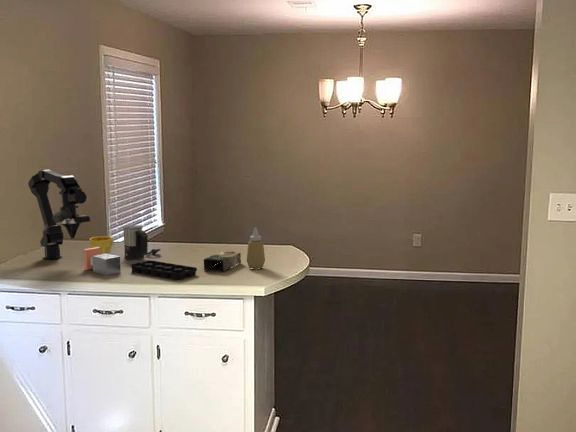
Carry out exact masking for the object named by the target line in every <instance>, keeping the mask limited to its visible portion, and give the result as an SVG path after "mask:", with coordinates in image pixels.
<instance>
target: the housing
mask: <svg viewBox="0 0 576 432" xmlns="http://www.w3.org/2000/svg"><path fill="white" fill-rule="evenodd" d="M92 259H93V269H92V272H93V273H95V274H99V275H103V276H112V275H115V274H120V273H122V272H121V271H122V269H121V256H119V255H114V254H111V253H110V254H107V253H106V254H101V255H95V256H92Z"/></svg>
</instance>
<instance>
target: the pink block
mask: <svg viewBox="0 0 576 432" xmlns="http://www.w3.org/2000/svg"><path fill="white" fill-rule="evenodd" d="M95 255H101V253H100V247H95V248H92V247H91V248H84V249H83V260H84V261H83V264H84V266H83V267H84V270H86V271H87V270H93V259H92V256H95Z"/></svg>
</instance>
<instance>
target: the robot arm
mask: <svg viewBox="0 0 576 432" xmlns="http://www.w3.org/2000/svg"><path fill="white" fill-rule="evenodd" d="M51 183H53V184H56V187H57V188H58V189H60V191H59V193H58V195H60V196H61V204H62V206H60V208H59V210H58V211H57V212H55V213H53V210H52V206H51V203H50V200H49V196H48V193H49V189H50V184H51ZM28 188H29V190H30V192H31V194H32V195H34V196H35V198H36V200H37V203H38V207H39V210H40V214H41V218H42V221H43V224H44V227H43V231H42V235H43V236H42V237H41V239H40V240H39V244H40V247H44V256H43V257H42V259H45V260H58V259H62V258H63V256H62V255H61V249H60V245H63V242H64V237H65V235H64V231H63V229H62V226H63V227H64V228H65V229H66V230H67V232H68V235H69V237H70V239H73V240H74V239H75V236H76V234H77V232H78V228H79V227H80V225H81V224H83V223H88V222H91V217H90V216H89V215H88V214H87V215H86V214H85V215H80V214H78V211H77V209H79V205H82V204H84V203H86V201H87V195H86V193H85V192H84V191H83V189H82V187H81V186H80V184H79V182H78V181H77V178H76V177H75V176H74V175H70V174H69V175H68V174H66V175H65V174H64V175H63V174H60V173H57V172H55V171H53V170H51V169H49V168H47V169H40V170H39V171H38V172H37V173H35V174H34V175H32V176H31V178H30V179H29V180H28ZM58 223H60V224H58Z"/></svg>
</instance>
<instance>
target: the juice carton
mask: <svg viewBox="0 0 576 432" xmlns="http://www.w3.org/2000/svg"><path fill="white" fill-rule="evenodd" d="M241 253H242V252H238V251H236V252H235V251H234V250H233V251H221V252H218V253H214V254H213V255H210V256H209V257H205V258H204V259H203V271H204V270H206V269H208V268H210V267H212V266H214V265H215V264H217V263H220V262H221V264H220V266H219V268H218V271H219V272H220V271H222V272H221V273H224V272H226V271H228V270H227V269H229V270H231V269H230V268H231V267H233V266H235V265H236V264H238V263H241V264H242V260H241V257H242V254H241ZM214 267H215V266H214ZM235 267H236V266H235ZM212 268H213V267H212ZM233 268H234V267H233ZM210 269H211V268H210ZM208 270H209V269H208ZM206 271H207V270H206Z"/></svg>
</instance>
